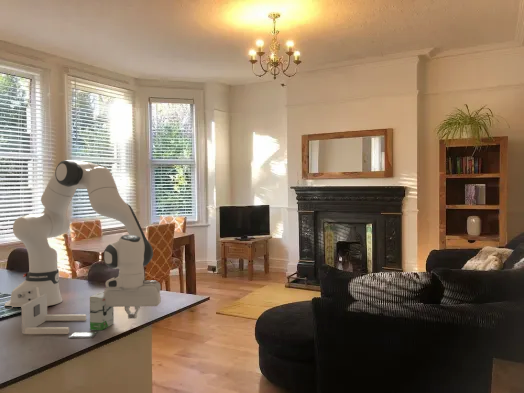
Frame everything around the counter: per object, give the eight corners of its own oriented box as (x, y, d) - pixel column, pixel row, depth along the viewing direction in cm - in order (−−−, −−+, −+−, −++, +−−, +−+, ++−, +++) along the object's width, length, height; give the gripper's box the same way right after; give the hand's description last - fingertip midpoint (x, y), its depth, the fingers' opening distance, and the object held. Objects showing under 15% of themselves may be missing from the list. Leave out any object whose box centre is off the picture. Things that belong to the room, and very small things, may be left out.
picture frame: (68, 340, 155) (68, 336, 154) (73, 335, 159) (73, 332, 159) (92, 339, 155) (92, 336, 155) (96, 335, 159) (96, 332, 159)
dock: (22, 334, 159) (21, 305, 159) (44, 319, 175) (44, 293, 175) (68, 333, 159) (67, 305, 158) (86, 319, 175) (85, 293, 174)
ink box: (101, 330, 162) (101, 297, 161) (89, 330, 163) (88, 296, 162) (114, 323, 170) (113, 291, 170) (102, 322, 171) (101, 291, 171)
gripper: (162, 278, 169) (163, 315, 169) (107, 278, 169) (108, 315, 170) (158, 282, 163) (159, 320, 163) (100, 282, 163) (101, 321, 163)
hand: (132, 318), depth 166 cm, fingers closed
